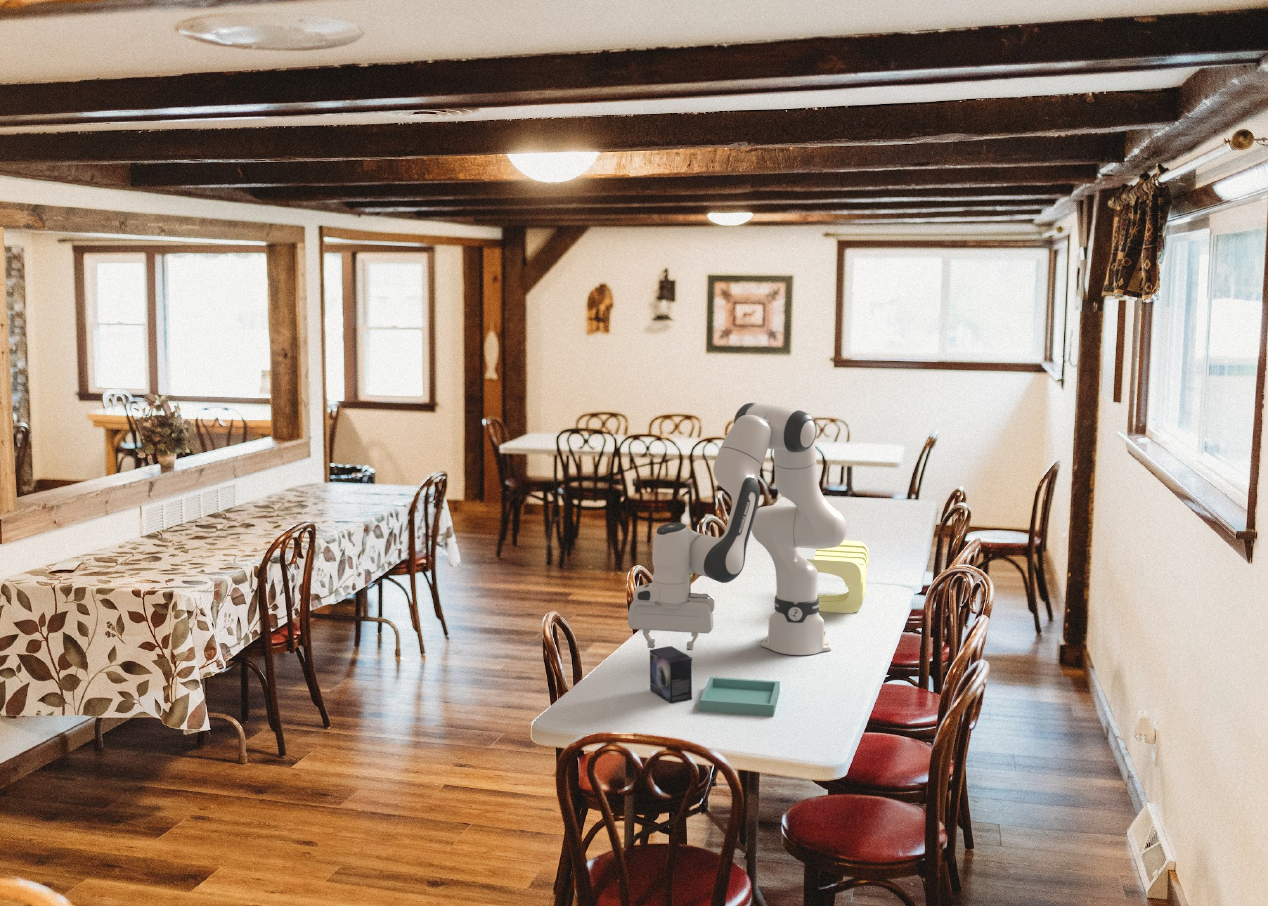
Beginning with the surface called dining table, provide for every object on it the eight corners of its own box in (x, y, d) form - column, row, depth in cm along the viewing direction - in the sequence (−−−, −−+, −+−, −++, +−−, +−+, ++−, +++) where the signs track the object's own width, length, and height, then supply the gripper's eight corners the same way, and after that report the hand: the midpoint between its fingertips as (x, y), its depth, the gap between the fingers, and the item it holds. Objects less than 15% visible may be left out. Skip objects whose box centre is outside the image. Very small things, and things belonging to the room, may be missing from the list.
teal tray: (709, 687, 286) (709, 676, 285) (779, 691, 282) (779, 681, 282) (699, 711, 269) (699, 700, 269) (773, 716, 266) (773, 705, 266)
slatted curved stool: (859, 621, 344) (861, 562, 342) (805, 617, 348) (806, 559, 346) (867, 596, 373) (868, 541, 370) (816, 593, 377) (818, 538, 374)
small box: (647, 690, 283) (648, 648, 282) (671, 686, 286) (671, 645, 285) (669, 704, 274) (669, 660, 273) (693, 699, 277) (693, 656, 276)
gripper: (716, 591, 278) (715, 647, 280) (631, 586, 282) (631, 642, 284) (712, 597, 272) (712, 655, 273) (626, 592, 276) (626, 649, 277)
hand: (670, 648), depth 278 cm, fingers open, 8 cm apart
